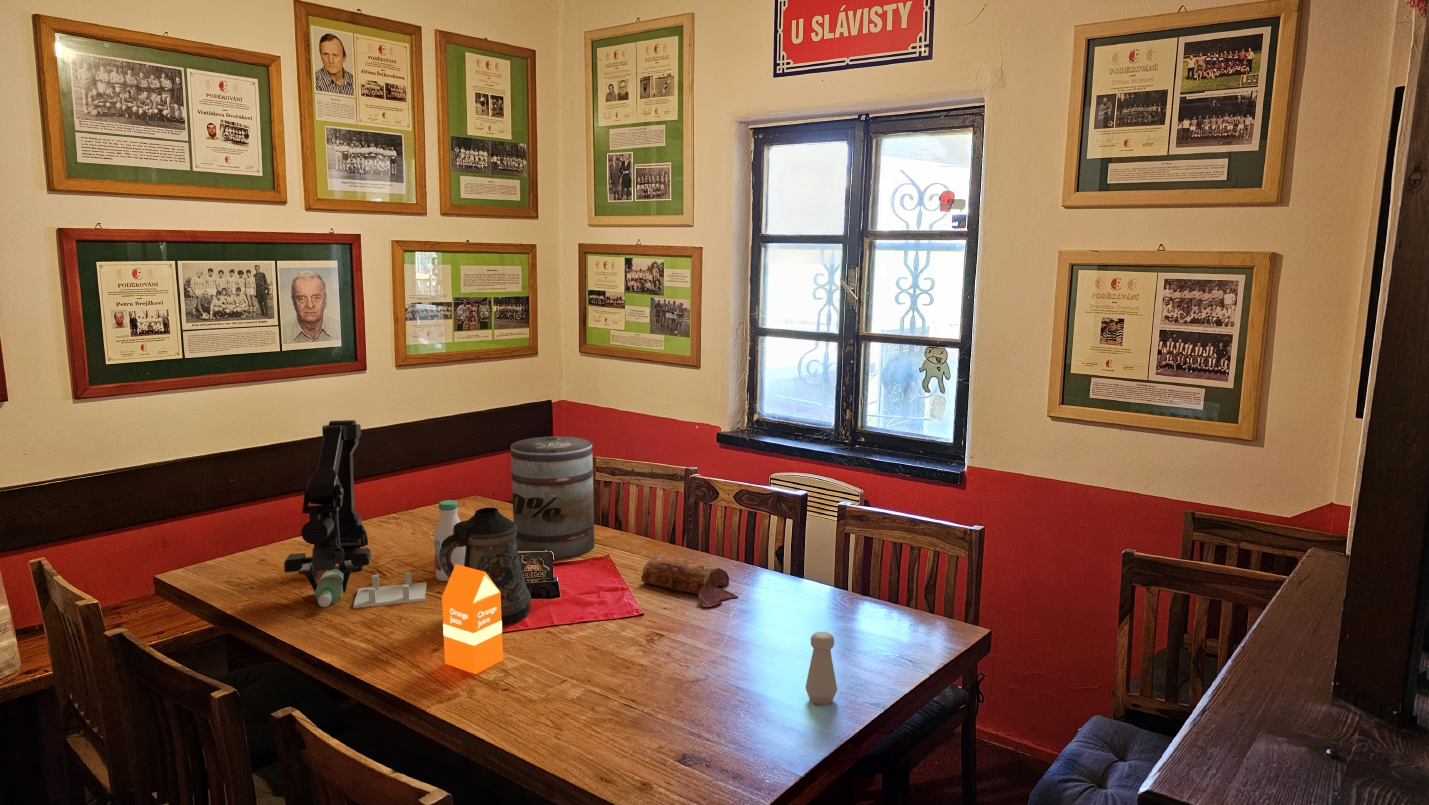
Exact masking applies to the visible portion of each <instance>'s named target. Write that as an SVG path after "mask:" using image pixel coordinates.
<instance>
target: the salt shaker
mask: <svg viewBox="0 0 1429 805" xmlns="http://www.w3.org/2000/svg"><path fill="white" fill-rule="evenodd" d="M810 646H811V647H812V648H813V649H812V653H811V659H810V665H809V668H808V673H807V678H806V683H805V691H806V693H807V696H808V699H809V700H810V701H811V703H812V704H813V705H818V706H822V707H824V706H827V705H830V704H832V702H833V700H834V698H835V696H836V694H837V691H838V687H837V686H838V685H837V680H836V674H835V669H834V668H835V667H834V664H833V656H832V651H831V650H832V649H833V648H834V646H835V637H834V636H833V635H832V634H831V633H829V632H826V631H816V632H813V633H812V635H811V637H810Z"/></svg>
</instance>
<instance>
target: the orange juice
mask: <svg viewBox="0 0 1429 805" xmlns="http://www.w3.org/2000/svg"><path fill="white" fill-rule="evenodd" d="M500 593H501V592H500V591H499V590H498V588H497V587H496V586H495V584H494V583H493V582H492V580H491V579H490V578H489V576H488V575H487V574H486V572H483V571H480V570H476V569H472V568H468V567H464V566H461V565H457V564H456V565H455V567H454V570H453V572H452V574H451V577H450V579H449V581H447V583H446V586H445V589H444V592H443V594H442V595H441V604H442V607H441V609H442V622H443V623H442V631H443V633H442V634H443V644H444V646H443V649H444V662H445V665H449V666H451V667H454V668H456V669H459V670H463V671H465V672H468V673H471V674H474V675H477V674H478V673H481V672H483V671H484V670H487V669H488V668H490V667H492V666H495V665H496V664H497V663H500V662H502V661H503V660H504V655H503V654H504V653H503V648H504V647H503V626H502V620H501V596H500Z"/></svg>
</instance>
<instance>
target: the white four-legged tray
mask: <svg viewBox="0 0 1429 805" xmlns="http://www.w3.org/2000/svg"><path fill="white" fill-rule="evenodd" d="M371 579H372V580H371V582H372V586H371V587H359V588H358V589H357V592H356V594H355V595H356V596H355V598H354V601H353V606H352V607H353V609H360V607H361V608H368V607H370V606H371V607H379V606H380V607H381V606H390V605H391V606H392V605H399V604H400V605H401V604H412V603H420V602H426V595H427V582H426V581H423V582H413V581H412V580H413V579H412V571H405V572H404V583H405V584H404V583H402V584H395V585H394V584H391V585H382V586H380V574H378V573H377V574H372V575H371ZM412 582H413V583H412Z"/></svg>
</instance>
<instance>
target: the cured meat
mask: <svg viewBox="0 0 1429 805" xmlns="http://www.w3.org/2000/svg"><path fill="white" fill-rule="evenodd" d="M640 578H641V579H640V581H641V582H642V583H645V584H649V585H654V586H658V587H663V588H667V589H670V590H674V591H679V592H684V593H685V592H686V593H691V594H695V595H698V601H699V602H700V603H701V604H700V605H701V606H703V607H704V608H711V607H714V606H715V607H716V606H717V605H719V604H722V603H723V600H728V599H733V598H734V599H735V598H738V597H739V595H737V594H734V593H732V592H730V591H728V590H726V589H723V588H720V587H718V586H725V587H727V586H729V584H730V576H729V575H728V572H727V571H726V570H724V569H722V568H720V567H717V566H712V565H710V564H708V563H704V562H699V561H694V560H690V559H687V558H682V557H681V558H680V557H674V556H668V555H667V556H666V555H661V554H657V555H655V556H653V557H651V558H649V559H648V561H647V562H645V565H644V566H643V568H642V574H641V576H640Z"/></svg>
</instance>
